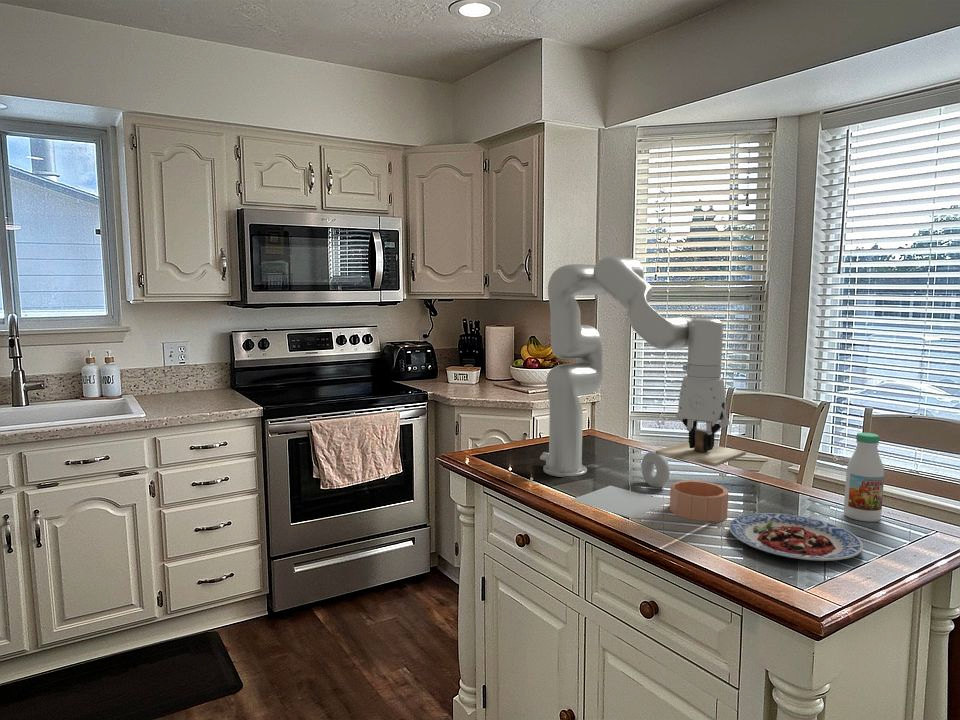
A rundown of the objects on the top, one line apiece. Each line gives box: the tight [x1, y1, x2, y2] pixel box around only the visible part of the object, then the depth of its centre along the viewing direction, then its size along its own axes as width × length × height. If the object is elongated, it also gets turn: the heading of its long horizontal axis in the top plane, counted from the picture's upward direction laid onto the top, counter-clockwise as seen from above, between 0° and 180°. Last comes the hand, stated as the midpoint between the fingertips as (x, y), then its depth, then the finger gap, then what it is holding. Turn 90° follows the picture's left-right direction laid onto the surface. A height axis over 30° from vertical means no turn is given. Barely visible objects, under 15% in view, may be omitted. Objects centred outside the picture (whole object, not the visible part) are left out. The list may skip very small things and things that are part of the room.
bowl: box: [669, 479, 729, 524], centre depth 159 cm, size 13×13×6 cm
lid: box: [655, 428, 747, 467], centre depth 157 cm, size 15×15×6 cm
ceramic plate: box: [728, 512, 864, 562], centre depth 142 cm, size 26×26×3 cm
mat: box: [571, 485, 670, 519], centre depth 167 cm, size 18×17×1 cm
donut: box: [640, 450, 670, 489], centre depth 179 cm, size 10×4×10 cm, turn 23°
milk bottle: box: [843, 432, 885, 523], centre depth 156 cm, size 8×8×20 cm
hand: (701, 447), depth 158 cm, fingers closed on lid, 3 cm apart
